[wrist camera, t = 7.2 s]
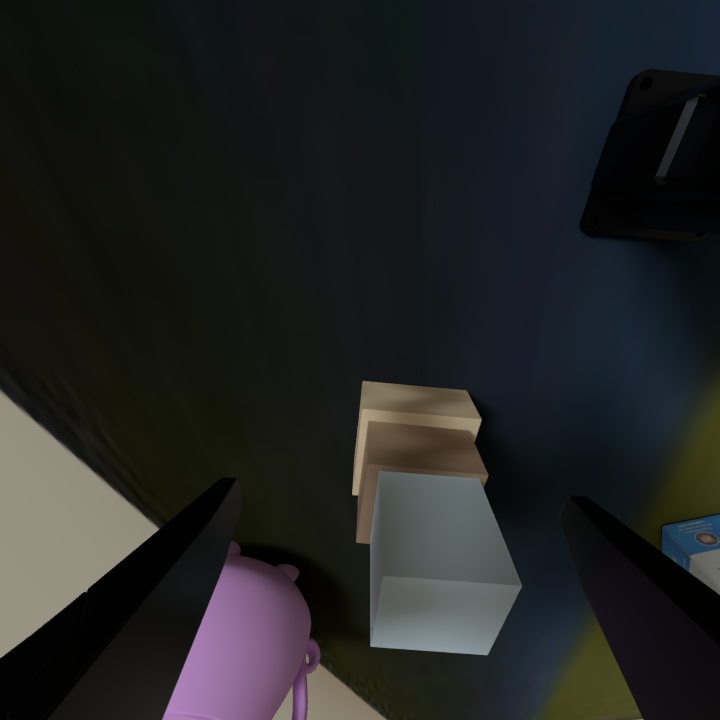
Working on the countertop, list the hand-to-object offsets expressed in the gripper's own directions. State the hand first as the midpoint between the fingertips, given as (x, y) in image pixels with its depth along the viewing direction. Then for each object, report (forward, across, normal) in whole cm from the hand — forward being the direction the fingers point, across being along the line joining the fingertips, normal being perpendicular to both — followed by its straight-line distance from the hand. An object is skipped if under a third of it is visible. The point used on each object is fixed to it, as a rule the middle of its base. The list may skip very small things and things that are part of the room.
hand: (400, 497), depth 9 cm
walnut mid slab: (+9, -2, +8) cm, 12 cm away
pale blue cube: (+6, -2, +7) cm, 9 cm away
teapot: (+12, +13, +25) cm, 31 cm away
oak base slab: (+13, -2, +7) cm, 15 cm away
